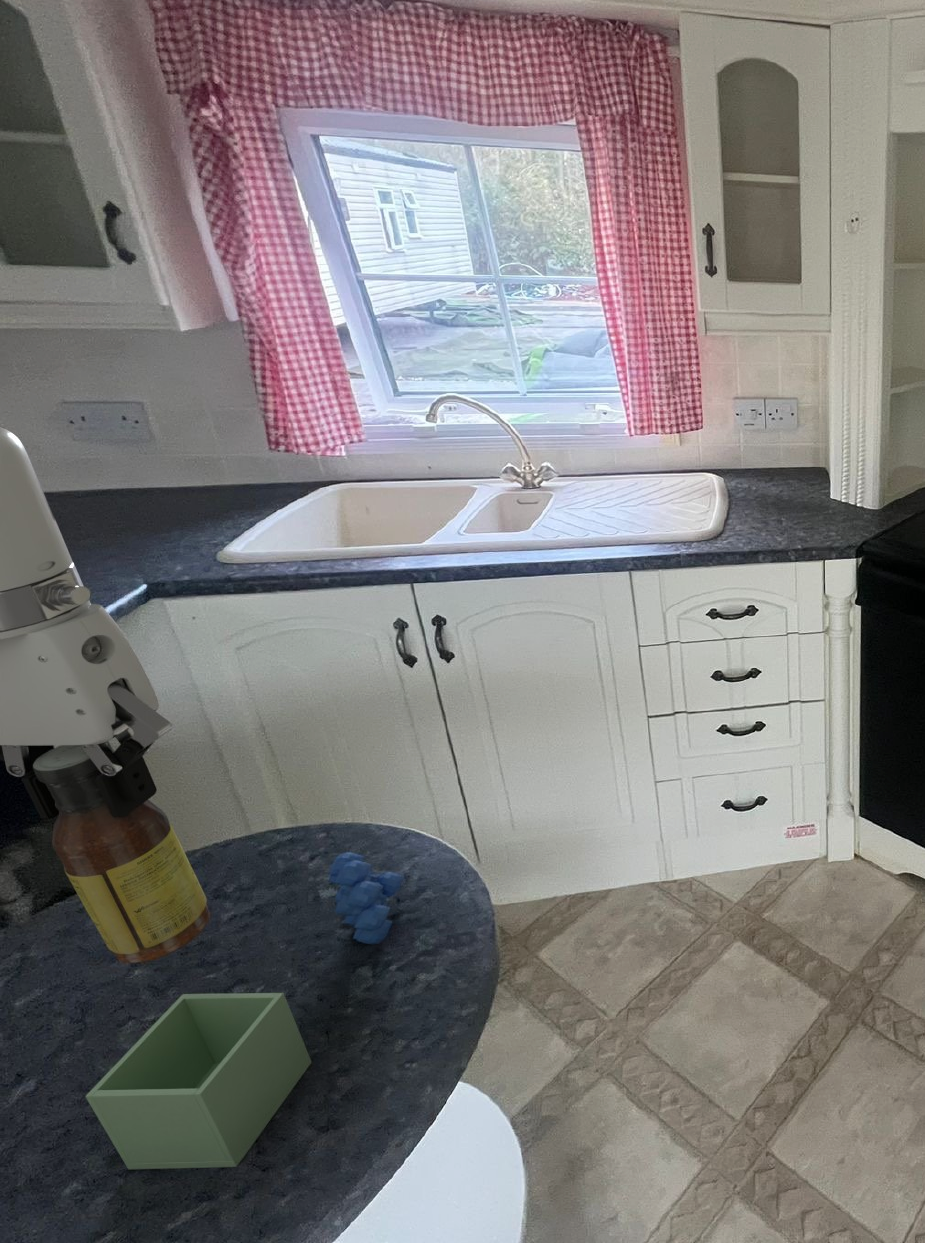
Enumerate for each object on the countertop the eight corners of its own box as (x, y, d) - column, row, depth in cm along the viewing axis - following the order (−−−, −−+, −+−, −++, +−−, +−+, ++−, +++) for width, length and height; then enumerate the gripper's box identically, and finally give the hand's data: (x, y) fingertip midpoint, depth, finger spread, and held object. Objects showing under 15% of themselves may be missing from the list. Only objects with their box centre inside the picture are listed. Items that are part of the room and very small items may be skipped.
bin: (127, 1169, 65) (84, 1096, 61) (216, 1063, 73) (182, 993, 69) (236, 1167, 65) (200, 1094, 62) (312, 1062, 74) (283, 992, 70)
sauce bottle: (224, 898, 69) (155, 719, 62) (196, 954, 64) (117, 765, 56) (128, 920, 66) (44, 735, 59) (91, 980, 61) (-6, 785, 54)
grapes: (434, 941, 86) (411, 862, 82) (364, 981, 82) (336, 899, 77) (397, 888, 93) (374, 812, 89) (331, 922, 88) (303, 843, 84)
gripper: (179, 580, 57) (250, 774, 64) (-62, 577, 56) (37, 775, 62) (80, 627, 50) (172, 839, 57) (-198, 625, 49) (-69, 842, 56)
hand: (100, 803), depth 60 cm, fingers closed on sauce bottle, 4 cm apart
